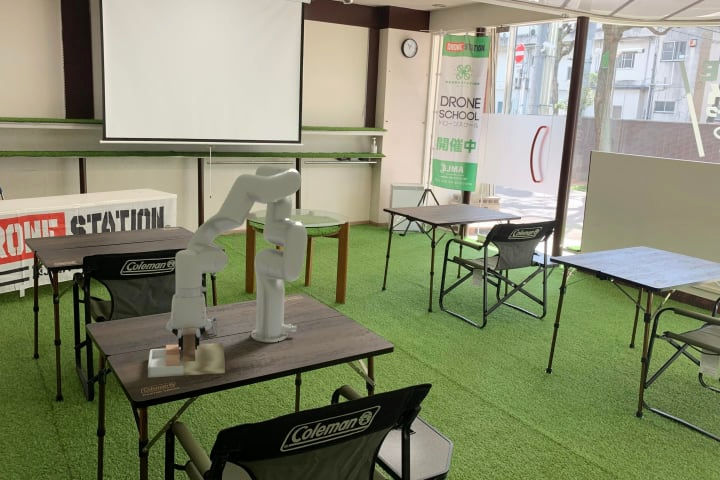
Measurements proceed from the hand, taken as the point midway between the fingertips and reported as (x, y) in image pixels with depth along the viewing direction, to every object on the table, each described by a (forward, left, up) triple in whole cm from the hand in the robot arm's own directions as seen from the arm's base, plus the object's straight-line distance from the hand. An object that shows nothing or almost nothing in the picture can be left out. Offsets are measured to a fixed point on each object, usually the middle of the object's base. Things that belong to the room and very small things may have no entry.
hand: (188, 347), depth 192 cm
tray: (+7, 0, -6) cm, 9 cm away
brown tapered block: (0, 0, -2) cm, 2 cm away
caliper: (-5, -33, -6) cm, 34 cm away
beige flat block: (-4, 0, -6) cm, 7 cm away
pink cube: (+3, -4, -3) cm, 6 cm away
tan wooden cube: (+3, +4, -3) cm, 6 cm away
